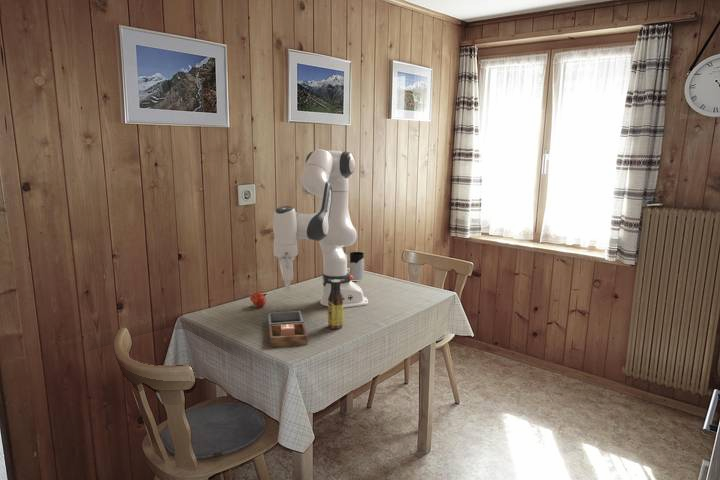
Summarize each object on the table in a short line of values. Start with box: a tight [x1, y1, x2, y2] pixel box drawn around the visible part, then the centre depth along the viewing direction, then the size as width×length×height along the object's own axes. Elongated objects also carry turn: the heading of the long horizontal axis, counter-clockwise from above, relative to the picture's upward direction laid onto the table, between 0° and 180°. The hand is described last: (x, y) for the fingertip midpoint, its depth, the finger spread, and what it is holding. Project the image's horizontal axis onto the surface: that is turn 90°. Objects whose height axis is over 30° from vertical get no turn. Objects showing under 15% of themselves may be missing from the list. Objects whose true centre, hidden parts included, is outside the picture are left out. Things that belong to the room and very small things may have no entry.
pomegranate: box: [249, 292, 268, 309], centre depth 231 cm, size 7×7×10 cm
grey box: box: [267, 310, 305, 333], centre depth 208 cm, size 14×14×4 cm
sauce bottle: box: [327, 279, 344, 330], centre depth 205 cm, size 6×6×20 cm
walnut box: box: [268, 322, 308, 348], centre depth 194 cm, size 14×14×4 cm
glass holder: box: [345, 251, 365, 280], centre depth 279 cm, size 9×14×15 cm, turn 59°
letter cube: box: [280, 324, 296, 336], centre depth 194 cm, size 5×5×5 cm
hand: (286, 286), depth 190 cm, fingers open, 8 cm apart
